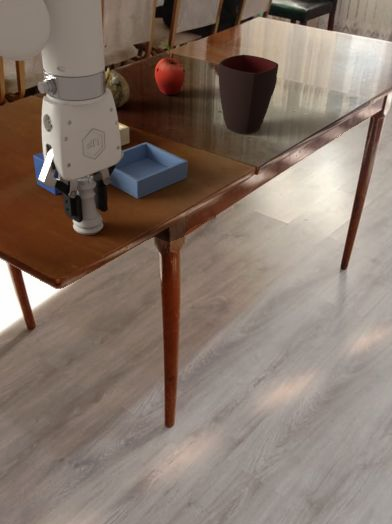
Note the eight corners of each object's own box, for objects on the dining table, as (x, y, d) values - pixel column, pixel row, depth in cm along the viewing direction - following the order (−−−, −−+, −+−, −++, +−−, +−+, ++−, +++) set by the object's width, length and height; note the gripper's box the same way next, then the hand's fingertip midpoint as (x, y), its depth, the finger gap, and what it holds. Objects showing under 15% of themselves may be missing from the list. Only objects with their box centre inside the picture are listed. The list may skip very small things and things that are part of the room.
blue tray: (137, 199, 100) (137, 181, 98) (97, 177, 105) (95, 160, 103) (187, 177, 106) (187, 160, 104) (146, 158, 111) (146, 141, 109)
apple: (191, 91, 137) (192, 42, 130) (177, 101, 132) (178, 51, 126) (159, 85, 139) (159, 37, 133) (145, 95, 134) (144, 45, 128)
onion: (139, 105, 130) (138, 64, 125) (114, 116, 125) (112, 74, 120) (111, 96, 133) (108, 56, 128) (85, 107, 128) (82, 66, 123)
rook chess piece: (66, 229, 92) (60, 179, 86) (87, 217, 95) (82, 167, 89) (89, 239, 90) (85, 188, 85) (109, 226, 93) (106, 176, 88)
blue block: (55, 195, 100) (51, 165, 96) (37, 184, 102) (32, 155, 99) (80, 185, 102) (77, 156, 99) (62, 175, 105) (58, 146, 102)
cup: (207, 128, 122) (211, 63, 114) (247, 109, 130) (253, 47, 123) (249, 142, 118) (256, 76, 110) (288, 122, 126) (297, 59, 118)
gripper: (37, 107, 72) (55, 244, 84) (145, 76, 81) (147, 204, 93) (1, 89, 76) (23, 223, 88) (108, 62, 85) (114, 186, 97)
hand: (87, 212), depth 91 cm, fingers open, 3 cm apart
